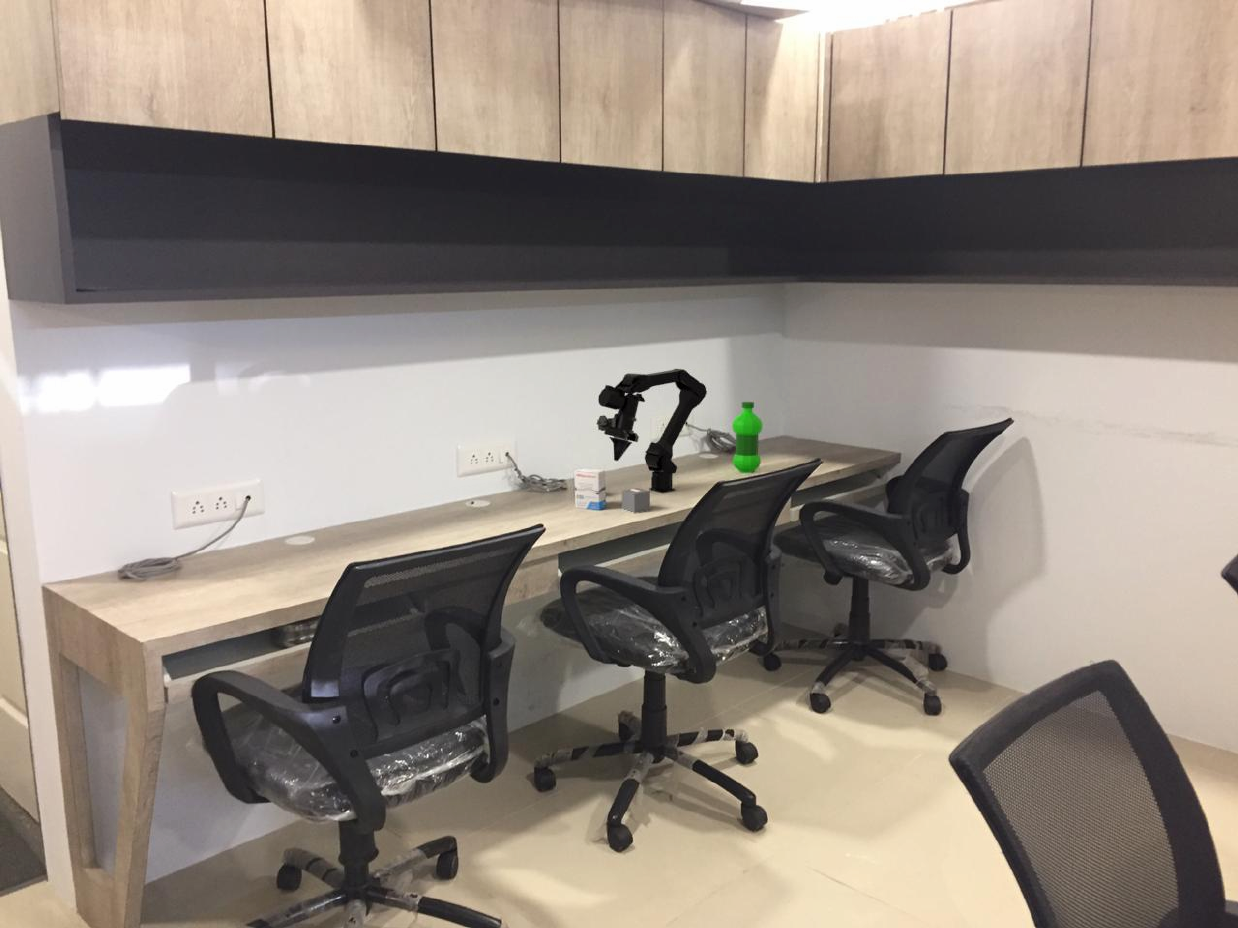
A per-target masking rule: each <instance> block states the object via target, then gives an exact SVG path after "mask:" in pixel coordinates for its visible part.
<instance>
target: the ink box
mask: <svg viewBox="0 0 1238 928" xmlns="http://www.w3.org/2000/svg"><path fill="white" fill-rule="evenodd" d="M573 473H574V474H573V475H574V476H573V477H574V478H573V479H574V481H575V497H574V501H575V502H574V506H575V507H574V508H575V509H583V510H590V509H591V510H592V511H601V510H602V509H606V507H607V501H606V499H607V497H606V495H607V494H606V493H607V492H606V470H604V469H596V468H595V469H593V468H580V469H576V470H575V471H573Z"/></svg>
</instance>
